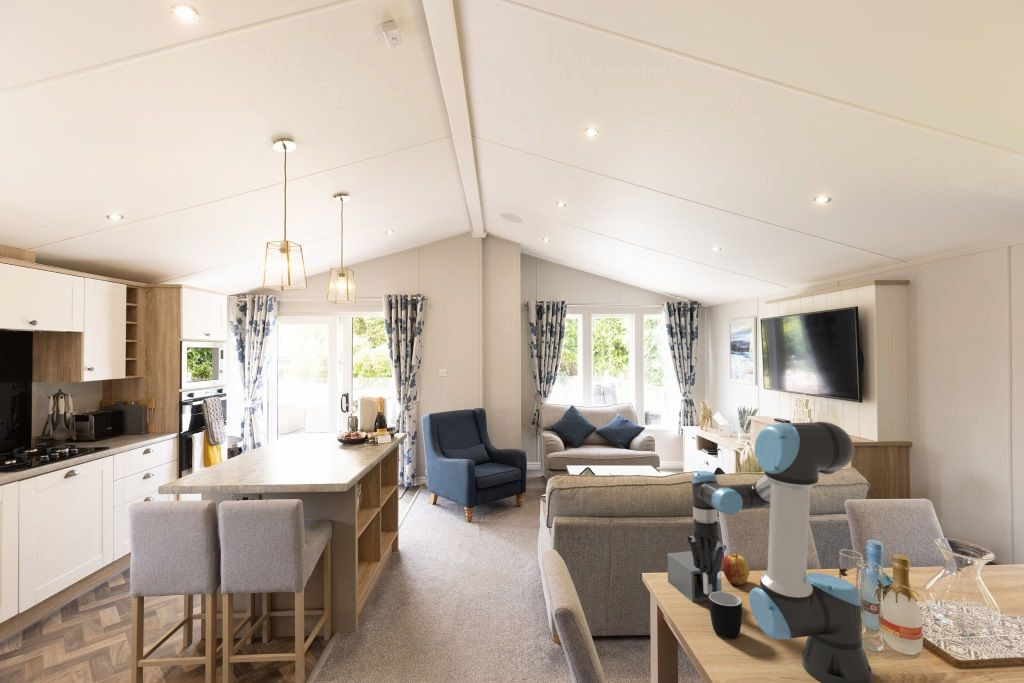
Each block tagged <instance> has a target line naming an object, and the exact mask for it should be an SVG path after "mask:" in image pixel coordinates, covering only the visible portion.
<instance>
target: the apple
mask: <svg viewBox="0 0 1024 683" xmlns="http://www.w3.org/2000/svg"><path fill="white" fill-rule="evenodd" d="M721 567H722V571H723V573H724V576H725V578H726V580H727V581H728V582H729V583H731V584H732V585H735V586H742V585H744V584H746V582H747V580H748V578H749V577H750V566H749V563H748V561H747V560H746V559H745V558H744V557H743V556H741V555H739V554H735V553H731V554H727V555H725V556H723V558H722V563H721Z"/></svg>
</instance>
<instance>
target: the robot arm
mask: <svg viewBox="0 0 1024 683" xmlns="http://www.w3.org/2000/svg"><path fill="white" fill-rule="evenodd" d="M854 449H855V447H854V443H853V440H852V439H851V436H850V435H849V434H848V433H847V432H846V431H845V429H843V428H842V427H840V426H838V425H836V424H834V423H831V422H825V421H815V422H812V421H811V422H780V423H778V424H777V423H776V424H775V423H774V424H770V425H766V426H765V427H764V428H762V430H760V432H759V433H758V435H757V437H756V440H755V443H754V455H755V458H756V459H757V460H756V462H757V465H758V466H759V467H760V468H761V469H762V470H763V471H764V475H763V476H762V477H761V478H759V479H758V480H756V481H754V482H753V483H744V484H741V483H740V484H727V485H725V484H723V485H722V484H720V483H719V482H718V479H717V475H716V473H714V472H713V471H707V470H698V471H694V472H693V473H692V476H691V478H692V480H691V488H692V516H693V517H692V518H693V534H692V535H690V536H687V538H686V540H687V541H688V543H689V545H690V551H692V555H693V559H694V564H695V567H696V568H698V569H700V571H701V580H702V581H703V589H704V593H705V594H707V595H708V594H710V593H712V584H713V583H714V574H717V573H719V572H720V570H721V567H722V563H723V559H724V554H725V551H726V549H727V545H725V544H722V543H721V542H720V538H719V535H718V534H719V522H718V519H719V518H718V512H719V513H722V514H726V515H729V516H730V515H731V516H733V515H736V514H737V513H739V512H740V511H742V510H757V509H769V522H768V523H769V526H768V547H767V551H768V552H767V570H765V571H764V572H762V573H761V574H760V580H759V582H760V584H759V587H757V586H755V587H754V588H752V589H751V590H750V592H749V595H748V601H749V606H750V610H751V613H752V615H753V618H754V620H755V622H756V623H757V625H758V627H759V629H761V631H762V632H763V633H764V634H765V635H766V636H768V637H769V638H771V639H773V640H787V641H789V640H791V639H797V638H805V637H807V639H806V641H805V646H804V649H803V650H802V653H801V659H802V660H801V662H802V666H803V668H804V670H805V671H806V672H807V673H808V674H809V675H811V677H813V678H814V679H816V680H818V681H820V682H821V683H874V681H873V680H874V678H873V670H872V667H871V665H870V664H869V661H868V657H867V654H866V652H865V650H864V647H863V633H862V632H863V631H862V628H863V627H862V603H861V596H860V591H859V589H858V588H857V586H855V585H854V584H853V583H851V582H849V581H847V580H845V579H843V578H840V577H837V576H834V575H832V574H831V575H830V574H827V573H820V572H810V573H807V569H808V566H807V565H808V550H809V549H808V548H809V543H808V542H809V529H810V526H809V525H810V524H809V523H810V506H811V502H810V501H811V489H812V488H813V487H815V486H816V485H817V484H818V483H819V477H821V476H822V475H833V474H835V473H837V472H838V471H840V470H842V469H843V468H845V467H847V465H848V464H849V463H850V462H851V461H852V459H853V456H854V453H855V450H854ZM715 551H716V552H715Z"/></svg>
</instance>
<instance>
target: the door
mask: <svg viewBox="0 0 1024 683" xmlns="http://www.w3.org/2000/svg"><path fill="white" fill-rule="evenodd" d="M717 592H723V589H722V570H721V569H720V572H719V573H718V574H717Z"/></svg>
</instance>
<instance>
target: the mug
mask: <svg viewBox="0 0 1024 683" xmlns="http://www.w3.org/2000/svg"><path fill="white" fill-rule="evenodd" d="M707 601H708V602H707V606H708V610H709V615H710V621H711V624H712V629H713V631H714V634H716V635H717V636H718V637H720V638H723V639H727V640H735V639H737V638H738V637H739V636H740V633H741V628H742V622H743V621H742V618H743V602H742V599H741V597H740V596H738V595H736V594H733V593H731V592H727V591H722V592H713V593H711V594H710V595H709V600H707Z"/></svg>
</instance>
